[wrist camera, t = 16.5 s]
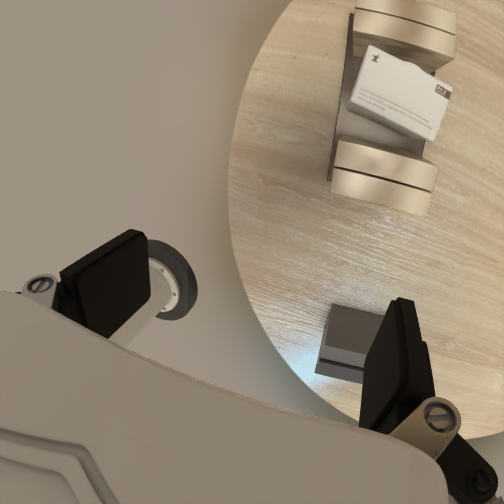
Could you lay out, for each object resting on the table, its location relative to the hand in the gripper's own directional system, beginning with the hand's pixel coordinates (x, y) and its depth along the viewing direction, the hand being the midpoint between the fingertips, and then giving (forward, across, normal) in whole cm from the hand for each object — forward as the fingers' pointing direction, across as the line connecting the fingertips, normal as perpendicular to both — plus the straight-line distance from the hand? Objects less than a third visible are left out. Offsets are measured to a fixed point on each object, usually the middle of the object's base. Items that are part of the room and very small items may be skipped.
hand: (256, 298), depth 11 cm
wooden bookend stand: (+33, -6, -10) cm, 35 cm away
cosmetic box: (+32, -6, -10) cm, 34 cm away
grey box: (+33, -10, +24) cm, 42 cm away
